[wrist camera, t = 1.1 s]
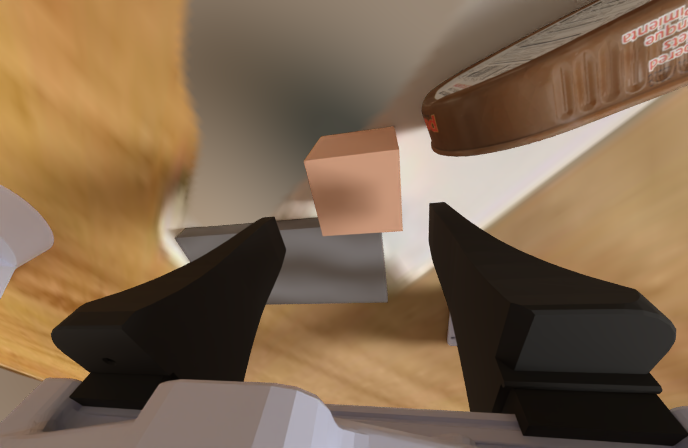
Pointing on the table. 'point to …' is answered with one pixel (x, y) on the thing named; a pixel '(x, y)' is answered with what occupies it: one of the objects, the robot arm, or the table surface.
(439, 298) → the table surface
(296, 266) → the charcoal board
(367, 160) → the cube
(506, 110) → the tin
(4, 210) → the wedge on round base
